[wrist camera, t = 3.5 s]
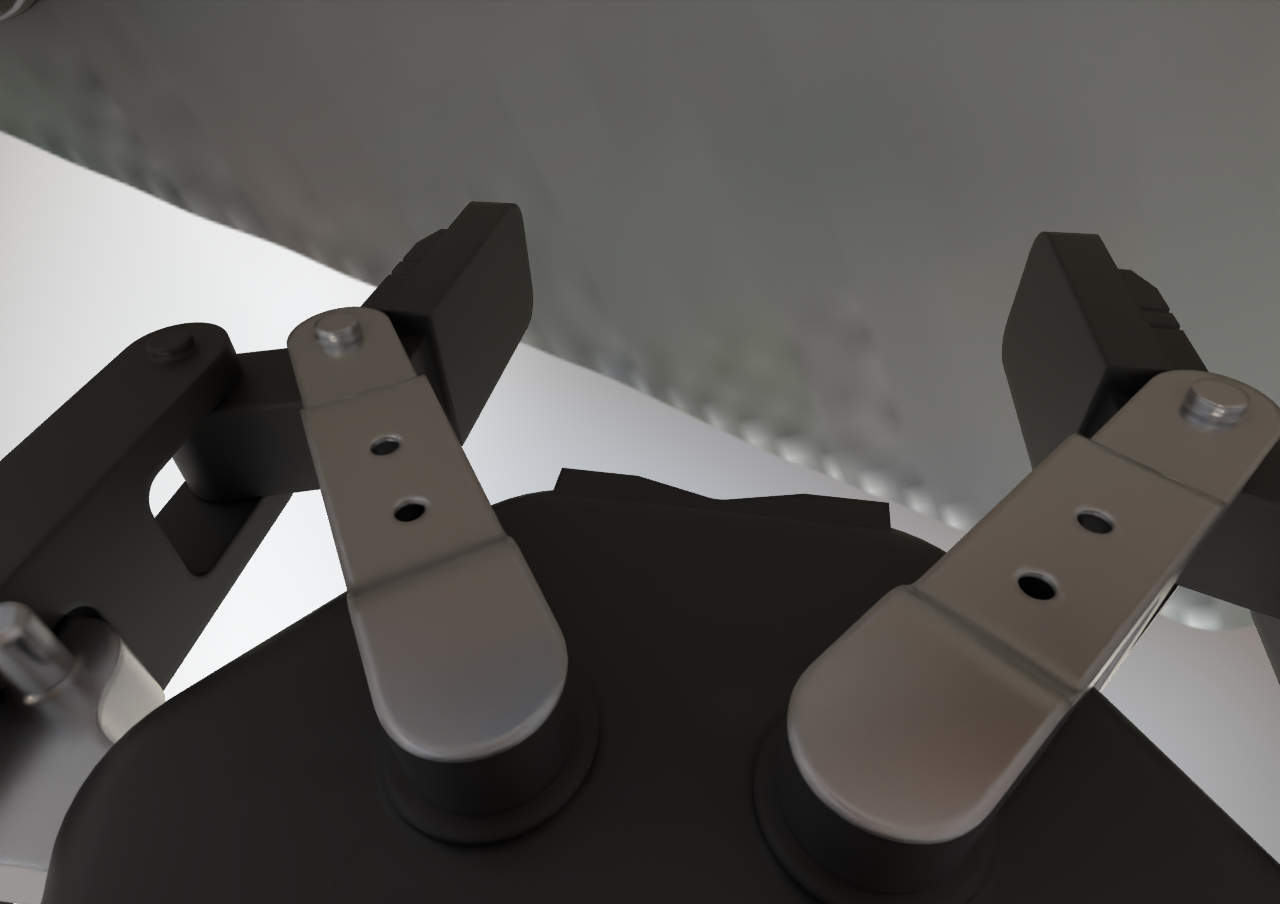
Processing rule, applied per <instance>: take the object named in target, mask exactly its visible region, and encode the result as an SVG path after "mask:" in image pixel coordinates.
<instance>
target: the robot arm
mask: <svg viewBox="0 0 1280 904" xmlns="http://www.w3.org/2000/svg"><path fill="white" fill-rule="evenodd" d="M34 1H35V0H0V20H3V19H6V18H10V17H13V16H16V15H18V14H20V13H22V12H24V11H25V10H27V9H28V8H29V7H30V6H31V5H32V4H33V2H34ZM532 308H533V289H532V282H531V274H530V267H529V260H528V253H527V245H526V238H525V231H524V223H523V218H522V214H521V211H520V209H519V207H518V205H516V204H514V203H494V202H475V201H472V202H470V203H469V204H468V205H467V206H466V207H465V209H464V210H463V211H462V212H461V213H460V215H459V216H458V217H457V218H456V219H455V221H454V222H453V223H452V224H451V225H450V226H449V228H448V229H440V230H439V231H437V232H435V233H433V234H431V235H430V236H428V237H426V238H424V239H422V240H421V241H419V242H417V243H416V244H415V245H414V247H413V248H412V249H411V250H410V251H409V252H408V253H407V255H406V256H405V257H404V258H403V262H399V264H398V265H397V266H396V267H395V268H394V269H393V270H392V275H388V276H387V277H386V278H385V280H384V281H383V282H382V283H381V284H380V285H379V286H378V287H377V289H376V290H375V291H374V292H373V293H372V294H371V295H370V297H369V298H368V299H367V300H366V301H365V302H364V304H363V305H362V306H361V307H346V308H338V309H334V310H329V311H326V312H323V313H320V314H317V315H315V316H313V317H311V318H309V319H307V320H305V321H304V322H302V323H301V324H299V325H298V326H297V327H296V328H295V329H294V330H293V331H292V332H291V333H290V335H289V337H288V340H287V348H285V349H277V350H269V351H259V352H250V353H242V354H236V352H235V349H234V347H233V345H232V343H231V341H230V338H229V336H228V334H227V332H226V331H225V330H224V329H223V328H221V327H219V326H217V325H214V324H209V323H184V324H179V325H174V326H170V327H166V328H163V329H160V330H157V331H155V332H152V333H150V334H147V335H145V336H143V337H141V338H140V339H138V340H136V341H135V342H133V343H132V344H131V345H129V346H128V347H127V348H126V349H125V350H123V351H122V352H121V353H120V354H119V355H118V356H117V357H116V358H114V359H113V360H112V361H111V362H110V363H109V364H108V365H107V366H106V367H104V368H103V369H102V370H101V371H100V372H99V373H98V374H97V375H96V376H94V377H93V378H92V379H91V380H90V381H89V382H88V383H87V384H86V385H84V386H83V387H82V388H81V389H80V390H79V391H78V392H77V393H75V395H73V396H72V397H71V398H70V399H69V400H68V401H67V402H65V403H64V404H63V405H62V406H61V407H60V408H59V409H58V410H57V411H55V412H54V413H53V414H52V415H51V416H50V417H49V418H48V419H47V420H46V421H44V422H43V423H42V424H41V425H40V426H39V427H38V428H37V429H35V430H34V432H32V433H31V434H30V435H29V436H28V437H26V438H25V439H24V440H23V441H22V442H21V443H20V444H19V445H18V446H16V447H15V448H14V449H13V450H12V451H11V452H10V453H9V454H8V455H6V456H5V457H4V458H3V459H2V460H1V461H0V904H13V903H18V904H1280V864H1279V863H1278V862H1277V861H1276V860H1275V859H1274V858H1273V857H1272V856H1271V855H1269V853H1267V852H1266V851H1265V850H1264V849H1263V848H1262V847H1261V846H1260V845H1259V844H1258V843H1257V842H1256V841H1255V840H1254V839H1253V838H1252V837H1251V836H1250V835H1249V834H1248V833H1247V832H1246V831H1245V830H1243V829H1242V828H1241V827H1240V826H1239V825H1238V824H1237V823H1236V822H1235V821H1234V820H1233V819H1232V818H1231V817H1230V816H1229V815H1228V814H1227V813H1226V812H1224V811H1223V810H1222V808H1220V807H1219V806H1218V805H1217V804H1216V803H1215V802H1214V801H1213V800H1212V799H1211V798H1210V797H1209V796H1208V795H1207V794H1206V793H1205V792H1204V791H1203V790H1202V789H1201V788H1199V786H1197V785H1196V784H1195V783H1194V782H1193V781H1192V780H1191V779H1190V778H1189V777H1188V776H1187V775H1186V774H1185V773H1184V772H1183V771H1182V770H1181V769H1180V768H1179V767H1178V766H1176V764H1174V763H1173V762H1172V761H1171V760H1170V759H1169V758H1168V757H1167V756H1166V755H1165V754H1164V753H1163V752H1162V751H1161V750H1160V749H1159V748H1158V747H1157V746H1156V745H1155V744H1154V743H1152V741H1150V740H1149V739H1148V738H1147V737H1146V736H1145V735H1144V734H1143V733H1142V732H1141V731H1140V730H1139V729H1138V728H1137V727H1136V726H1135V725H1134V724H1133V723H1132V722H1131V721H1130V720H1128V719H1127V718H1126V717H1125V716H1124V715H1123V714H1122V713H1121V712H1120V711H1119V710H1118V709H1117V708H1116V707H1115V706H1114V705H1113V704H1112V703H1110V701H1109V700H1108V699H1107V698H1105V697H1104V696H1103V695H1102V694H1101V692H1102V691H1103V690H1104V688H1105V687H1106V686H1107V684H1108V683H1109V681H1110V680H1111V678H1112V677H1113V676H1114V674H1115V673H1116V672H1117V670H1118V669H1119V667H1120V666H1121V665H1122V663H1123V662H1124V661H1125V659H1126V658H1127V657H1128V655H1129V654H1130V653H1131V651H1132V650H1133V648H1134V647H1135V646H1136V644H1137V643H1138V642H1139V640H1140V639H1141V638H1142V636H1143V635H1144V634H1145V632H1146V631H1147V629H1148V628H1149V627H1150V625H1151V624H1152V623H1153V621H1154V620H1155V618H1156V617H1157V616H1158V615H1159V613H1160V612H1161V610H1162V609H1163V608H1164V606H1165V605H1166V604H1167V602H1168V601H1169V600H1170V598H1171V597H1172V596H1173V594H1174V593H1175V591H1176V590H1177V588H1178V587H1179V585H1180V586H1182V587H1185V588H1188V589H1191V590H1194V591H1197V592H1200V593H1203V594H1206V595H1209V596H1212V597H1215V598H1218V599H1221V600H1224V601H1227V602H1230V603H1233V604H1236V605H1238V606H1241V607H1244V608H1247V609H1250V612H1251V615H1252V618H1253V621H1254V623H1255V626H1256V628H1257V631H1258V633H1259V635H1260V638H1261V640H1262V643H1263V645H1264V647H1265V650H1266V652H1267V655H1268V657H1269V660H1270V662H1271V665H1272V667H1273V669H1274V672H1275V674H1276V677H1277V679H1278V682H1279V684H1280V408H1279V407H1278V406H1277V405H1276V404H1275V403H1274V402H1273V401H1272V400H1271V399H1270V398H1268V397H1267V396H1266V395H1264V394H1263V393H1261V392H1260V391H1258V390H1257V389H1255V388H1253V387H1251V386H1249V385H1247V384H1245V383H1242V382H1240V381H1238V380H1235V379H1232V378H1229V377H1226V376H1223V375H1219V374H1215V373H1210V372H1208V370H1207V369H1206V367H1205V365H1204V364H1203V362H1202V361H1201V359H1200V357H1199V356H1198V354H1197V352H1196V351H1195V349H1194V348H1193V346H1192V344H1191V343H1190V341H1189V339H1188V338H1187V336H1186V335H1185V333H1184V331H1183V330H1179V328H1180V325H1179V323H1178V322H1177V320H1176V318H1175V317H1174V315H1173V314H1172V313H1169V310H1170V309H1169V307H1168V305H1167V304H1166V302H1165V301H1164V299H1163V297H1162V296H1161V294H1160V293H1159V291H1158V289H1157V288H1155V287H1154V286H1153V285H1151V284H1150V283H1148V282H1147V281H1146V280H1144V279H1143V278H1141V277H1140V276H1138V275H1137V274H1136V273H1134V272H1133V271H1131V270H1124V269H1118V268H1117V266H1116V265H1115V263H1114V261H1113V259H1112V258H1111V256H1110V254H1109V252H1108V250H1107V249H1106V247H1105V245H1104V243H1103V242H1102V240H1101V238H1100V237H1099V235H1097V234H1081V233H1061V232H1041V233H1040V234H1039V235H1038V236H1037V237H1036V239H1035V241H1034V243H1033V245H1032V248H1031V251H1030V253H1029V256H1028V260H1027V263H1026V266H1025V269H1024V272H1023V275H1022V278H1021V281H1020V284H1019V287H1018V290H1017V293H1016V296H1015V299H1014V302H1013V305H1012V308H1011V311H1010V314H1009V317H1008V320H1007V324H1006V327H1005V331H1004V337H1003V344H1002V361H1003V366H1004V370H1005V373H1006V377H1007V380H1008V384H1009V387H1010V391H1011V394H1012V398H1013V402H1014V405H1015V409H1016V412H1017V416H1018V419H1019V423H1020V426H1021V430H1022V434H1023V437H1024V441H1025V444H1026V448H1027V451H1028V455H1029V458H1030V462H1031V466H1032V469H1033V471H1032V472H1031V473H1030V474H1029V475H1028V476H1027V477H1026V478H1025V479H1023V480H1022V481H1021V482H1020V483H1019V484H1018V485H1017V486H1016V487H1015V488H1014V489H1013V490H1012V491H1011V492H1010V493H1009V494H1008V495H1007V496H1006V497H1005V498H1004V499H1002V500H1001V501H1000V502H999V503H998V504H997V505H996V506H995V507H994V508H993V509H992V510H991V511H990V512H989V513H988V514H987V515H986V516H985V517H984V518H983V519H982V520H980V521H979V522H978V523H977V524H976V525H975V526H974V527H973V528H972V529H971V530H970V531H969V532H968V533H967V534H966V535H965V536H964V537H963V538H962V539H961V540H960V541H959V542H957V544H955V545H954V546H953V547H952V548H951V549H950V550H949V551H948V552H947V553H946V552H945V551H943V550H941V549H940V548H938V547H936V546H934V545H932V544H930V543H928V542H926V541H924V540H922V539H920V538H917V537H915V536H912V535H910V534H908V533H905V532H902V531H899V530H896V529H893V528H891V526H890V513H889V503H886V502H876V501H866V500H858V499H847V498H839V497H830V496H820V495H810V494H795V495H784V496H769V497H756V498H742V499H729V500H719V499H712V498H708V497H705V496H701V495H698V494H695V493H692V492H689V491H685V490H682V489H679V488H676V487H672V486H669V485H666V484H663V483H659V482H656V481H653V480H650V479H646V478H643V477H640V476H633V475H624V474H615V473H605V472H595V471H586V470H577V469H568V468H562V470H561V472H560V475H559V477H558V480H557V482H556V485H555V488H554V490H552V491H542V492H536V493H530V494H525V495H521V496H518V497H514V498H510V499H507V500H504V501H502V502H499V503H496V504H493V505H490V503H489V501H488V499H487V497H486V495H485V493H484V491H483V489H482V487H481V485H480V483H479V481H478V479H477V477H476V475H475V473H474V471H473V469H472V467H471V465H470V463H469V461H468V459H467V457H466V455H465V453H464V451H463V449H462V447H461V446H463V444H464V442H465V440H466V439H467V437H468V435H469V433H470V431H471V430H472V428H473V426H474V424H475V422H476V420H477V419H478V417H479V415H480V413H481V411H482V409H483V408H484V406H485V404H486V402H487V400H488V398H489V397H490V395H491V393H492V391H493V389H494V387H495V386H496V384H497V382H498V380H499V378H500V377H501V375H502V373H503V371H504V369H505V368H506V365H507V364H508V362H509V360H510V358H511V356H512V355H513V353H514V351H515V349H516V348H517V346H518V344H519V342H520V340H521V338H522V337H523V335H524V333H525V331H526V329H527V327H528V325H529V323H530V320H531V315H532ZM171 458H173V459H174V461H175V463H176V465H177V466H178V468H179V470H180V472H181V473H182V475H183V477H184V479H185V480H186V481H185V482H184V483H183V484H182V486H181V487H180V488H179V489H178V491H177V492H176V493H175V494H174V495H173V497H172V498H171V499H170V500H169V501H168V503H167V504H166V505H165V506H164V508H163V509H162V510H161V511H160V512H159V514H158V515H157V516H156V517H155V518H154V516H153V514H152V512H151V510H150V505H149V492H150V487H151V484H152V482H153V480H154V478H155V476H156V475H157V474H158V472H159V471H160V470H161V469H162V468H163V467H164V466H165V464H166V463H167V462H168V461H169V460H170V459H171ZM317 489H321V493H322V496H323V500H324V503H325V507H326V511H327V515H328V519H329V523H330V526H331V530H332V534H333V538H334V541H335V545H336V549H337V552H338V556H339V560H340V564H341V568H342V571H343V575H344V579H345V582H346V586H347V591H346V592H344V593H343V594H341V595H339V596H338V597H336V598H335V599H333V600H331V601H330V602H328V603H326V604H325V605H323V606H321V607H320V608H318V609H317V610H315V611H313V612H312V613H310V614H308V615H307V616H305V617H303V618H302V619H300V620H299V621H297V622H295V623H294V624H292V625H290V626H289V627H287V628H285V629H284V630H282V631H281V632H279V633H277V634H276V635H274V636H272V637H271V638H270V639H267V640H266V641H264V642H263V643H261V644H259V645H258V646H256V647H254V648H253V649H251V650H249V651H248V652H246V653H244V654H243V655H241V656H240V657H238V658H236V659H235V660H233V661H231V662H230V663H228V664H227V665H225V666H223V667H222V668H220V669H218V670H217V671H215V672H214V673H212V674H210V675H208V676H207V677H205V678H204V679H202V680H200V681H199V682H197V683H196V684H194V685H192V686H191V687H189V688H187V689H186V690H184V691H182V692H181V693H179V694H177V695H176V696H174V697H172V698H171V699H169V700H168V701H166V702H165V697H164V693H163V690H164V689H165V688H166V686H167V685H168V683H169V682H170V680H171V678H172V677H173V676H174V674H175V673H176V671H177V669H178V668H179V666H180V665H181V663H182V662H183V660H184V659H185V657H186V656H187V654H188V653H189V651H190V650H191V648H192V647H193V645H194V644H195V642H196V641H197V639H198V637H199V636H200V635H201V633H202V632H203V630H204V628H205V627H206V625H207V624H208V622H209V621H210V619H211V618H212V616H213V615H214V613H215V612H216V610H217V609H218V607H219V606H220V604H221V603H222V601H223V599H224V598H225V596H226V595H227V594H228V592H229V591H230V589H231V588H232V586H233V584H234V583H235V581H236V580H237V578H238V577H239V575H240V574H241V572H242V571H243V569H244V568H245V566H246V565H247V563H248V562H249V560H250V559H251V557H252V555H253V554H254V553H255V551H256V550H257V548H258V547H259V545H260V544H261V542H262V540H263V539H264V537H265V536H266V534H267V533H268V531H269V530H270V528H271V527H272V525H273V524H274V522H275V521H276V519H277V518H278V516H279V515H280V513H281V511H282V510H283V509H284V507H285V506H286V504H287V503H288V501H289V499H290V498H291V496H292V494H293V493H294V492H301V491H309V490H317Z"/></svg>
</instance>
